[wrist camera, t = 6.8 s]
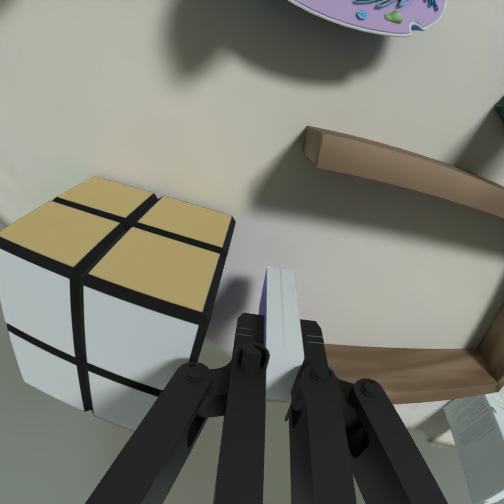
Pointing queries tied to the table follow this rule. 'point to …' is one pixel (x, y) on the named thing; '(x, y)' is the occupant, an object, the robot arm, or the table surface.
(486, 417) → the skincare box
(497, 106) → the crayon box
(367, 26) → the cell model
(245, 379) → the robot arm
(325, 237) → the table surface
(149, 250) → the puzzle cube
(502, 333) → the walnut stall
